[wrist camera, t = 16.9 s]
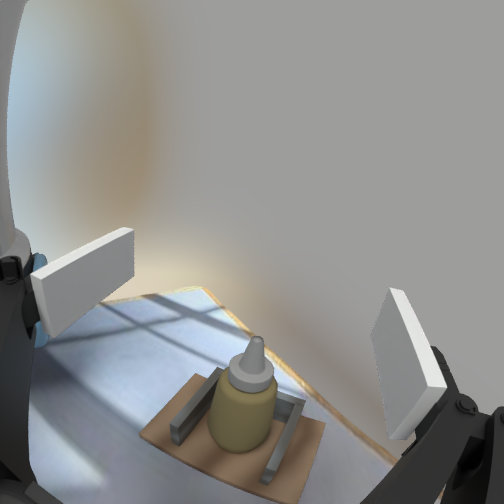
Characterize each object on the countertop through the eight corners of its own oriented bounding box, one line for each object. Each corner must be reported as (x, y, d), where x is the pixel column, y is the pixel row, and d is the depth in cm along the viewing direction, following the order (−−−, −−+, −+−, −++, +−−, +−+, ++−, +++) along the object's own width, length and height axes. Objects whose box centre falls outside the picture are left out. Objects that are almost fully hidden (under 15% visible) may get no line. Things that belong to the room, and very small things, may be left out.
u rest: (139, 437, 31) (133, 413, 29) (195, 377, 44) (196, 350, 42) (294, 507, 24) (309, 492, 22) (323, 426, 37) (336, 403, 35)
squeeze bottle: (233, 406, 39) (250, 307, 32) (277, 436, 34) (314, 340, 28) (193, 435, 32) (196, 335, 26) (239, 472, 28) (266, 383, 21)
